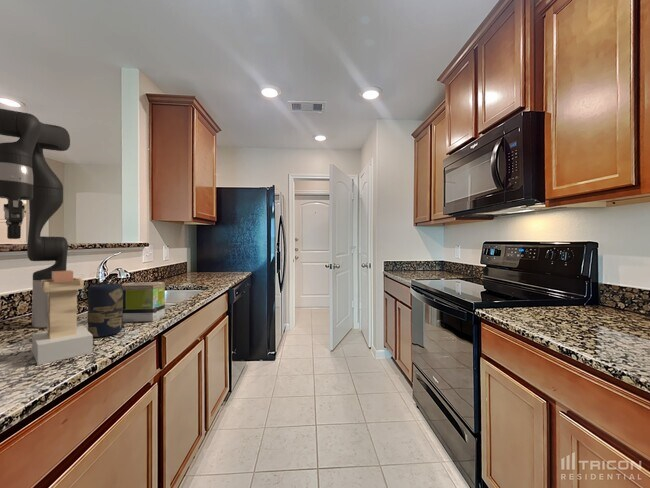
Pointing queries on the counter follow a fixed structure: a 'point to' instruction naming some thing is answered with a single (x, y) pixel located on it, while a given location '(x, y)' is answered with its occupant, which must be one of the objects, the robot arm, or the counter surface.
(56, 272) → the cargo block
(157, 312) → the tea box
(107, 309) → the canister
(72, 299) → the pedestal tray
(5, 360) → the counter surface
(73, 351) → the dock
